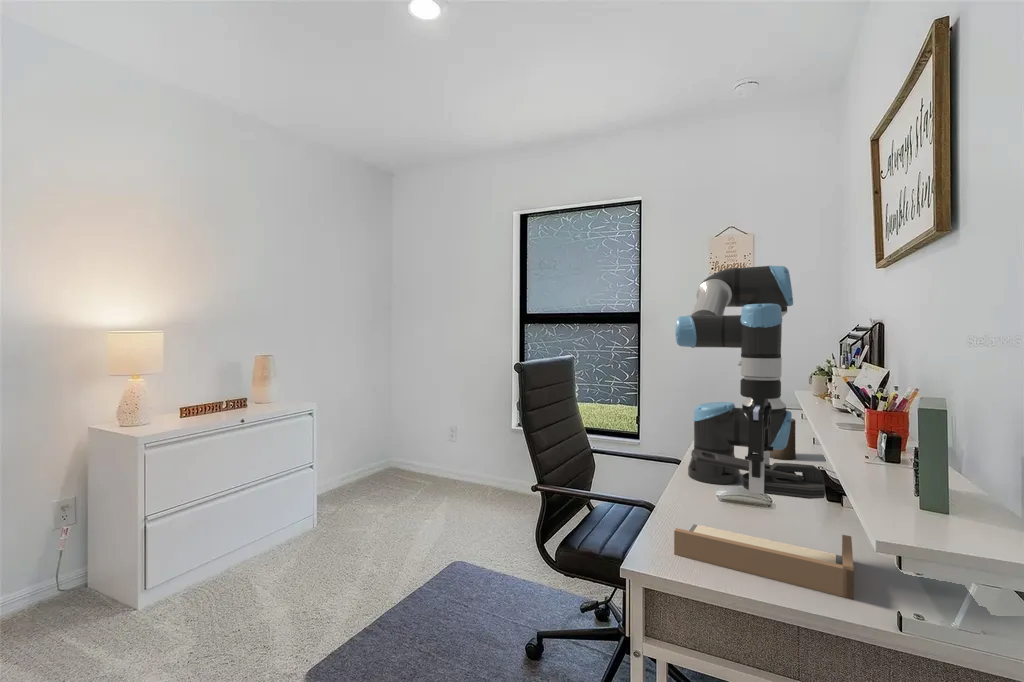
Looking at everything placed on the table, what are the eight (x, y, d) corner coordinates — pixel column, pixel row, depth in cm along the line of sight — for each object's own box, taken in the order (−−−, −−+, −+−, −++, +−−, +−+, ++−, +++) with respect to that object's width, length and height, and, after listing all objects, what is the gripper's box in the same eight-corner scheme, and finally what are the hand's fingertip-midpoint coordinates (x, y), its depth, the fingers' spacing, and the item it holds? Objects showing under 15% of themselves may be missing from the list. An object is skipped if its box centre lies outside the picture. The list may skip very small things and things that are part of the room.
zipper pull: (690, 447, 109) (816, 455, 102) (689, 476, 109) (816, 486, 102) (692, 456, 100) (831, 466, 93) (692, 488, 100) (831, 500, 93)
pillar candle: (801, 459, 170) (801, 417, 170) (774, 460, 170) (774, 417, 170) (785, 453, 180) (785, 412, 180) (759, 453, 180) (759, 412, 180)
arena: (693, 526, 115) (693, 505, 114) (850, 560, 98) (851, 536, 97) (674, 554, 101) (674, 530, 101) (853, 599, 84) (853, 571, 84)
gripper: (748, 373, 112) (747, 471, 112) (731, 381, 94) (730, 497, 95) (785, 375, 107) (784, 476, 108) (775, 383, 90) (774, 505, 90)
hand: (759, 486), depth 101 cm, fingers closed on zipper pull, 8 cm apart
